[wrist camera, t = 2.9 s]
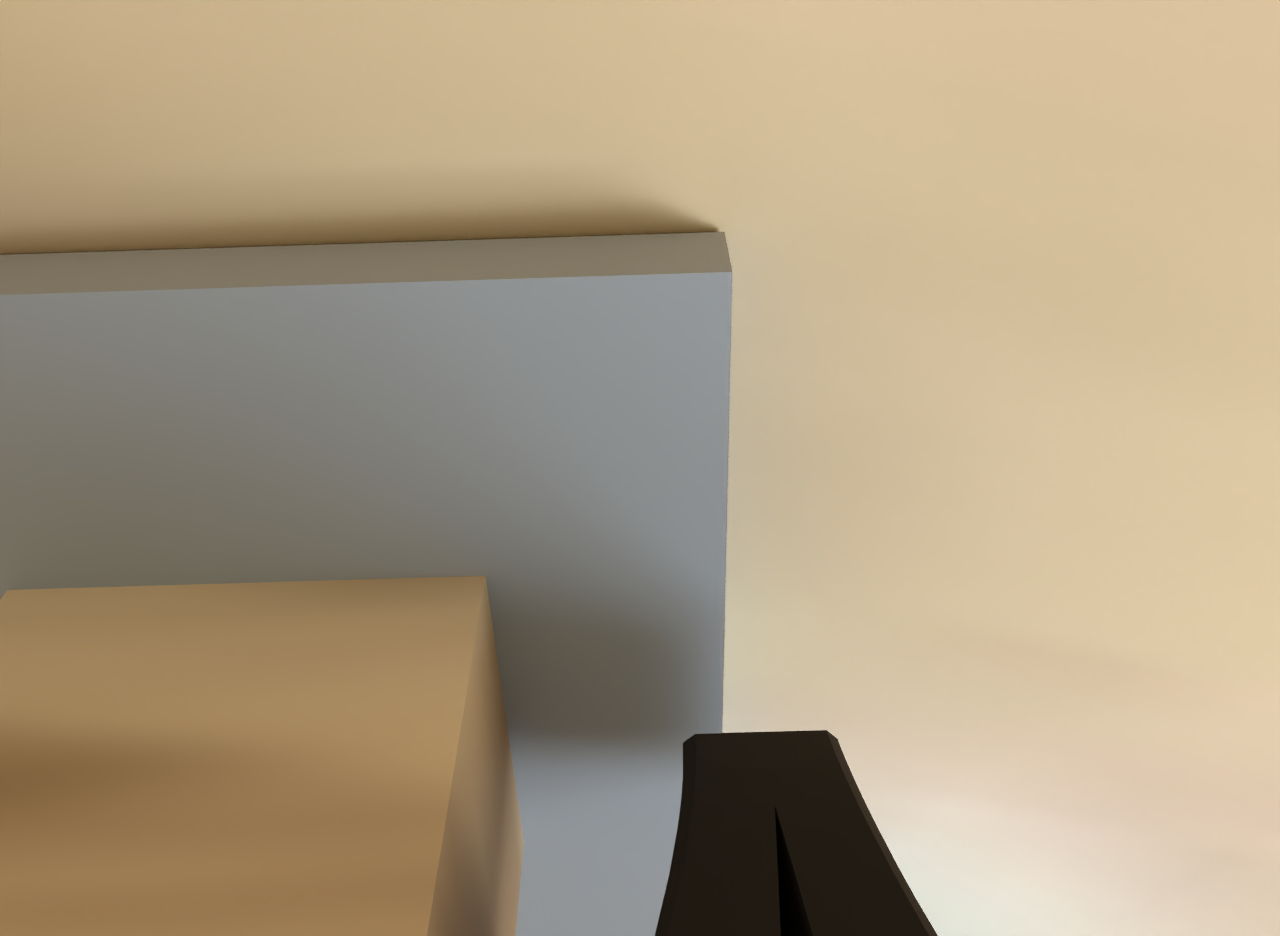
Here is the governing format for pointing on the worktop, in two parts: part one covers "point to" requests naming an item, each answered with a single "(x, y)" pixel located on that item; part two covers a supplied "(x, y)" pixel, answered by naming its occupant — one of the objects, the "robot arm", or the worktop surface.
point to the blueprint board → (416, 481)
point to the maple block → (256, 761)
